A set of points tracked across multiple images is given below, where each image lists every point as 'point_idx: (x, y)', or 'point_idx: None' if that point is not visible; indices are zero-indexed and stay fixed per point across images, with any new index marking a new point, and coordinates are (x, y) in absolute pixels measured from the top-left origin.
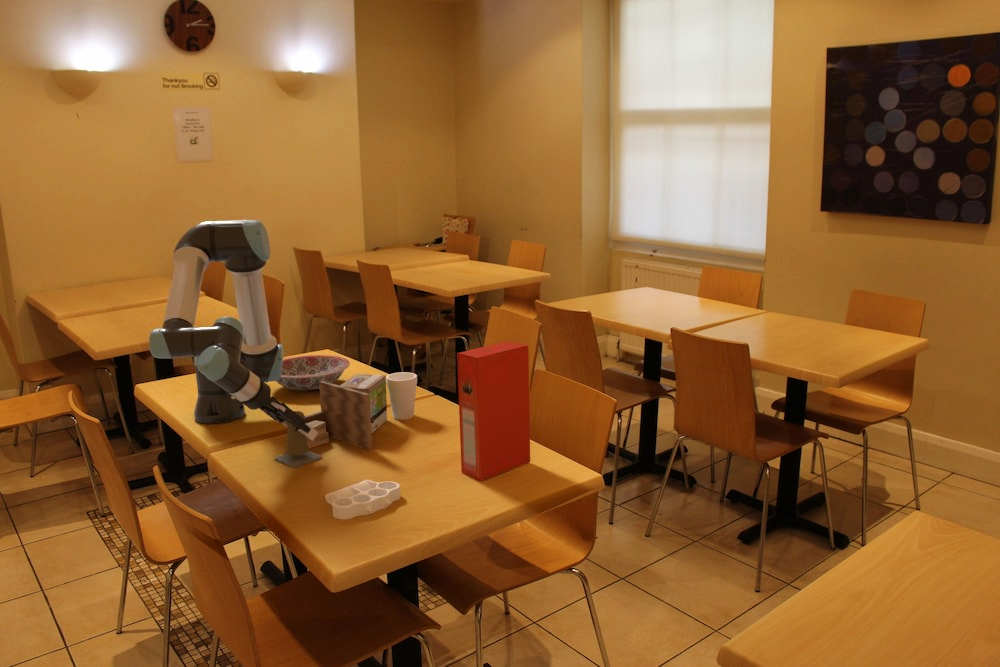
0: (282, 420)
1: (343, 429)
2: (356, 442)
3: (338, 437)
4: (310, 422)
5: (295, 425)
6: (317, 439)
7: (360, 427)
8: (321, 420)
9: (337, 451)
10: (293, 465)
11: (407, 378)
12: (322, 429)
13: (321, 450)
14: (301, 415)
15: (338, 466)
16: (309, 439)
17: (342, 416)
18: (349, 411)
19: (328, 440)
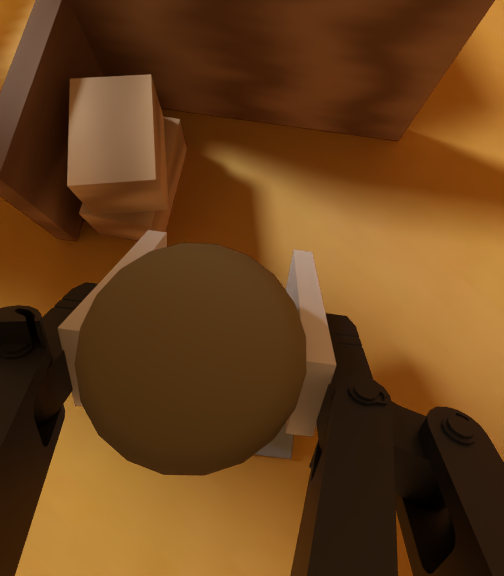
0: (57, 408)
1: (242, 75)
2: (325, 120)
3: (204, 107)
4: (76, 113)
5: (408, 547)
6: (168, 183)
7: (389, 57)
8: (80, 50)
9: (301, 209)
10: (286, 458)
11: None
12: (160, 123)
13: (233, 233)
14: (298, 332)
15: (439, 329)
16: (155, 217)
17: (241, 4)
18: None
19: (185, 146)
